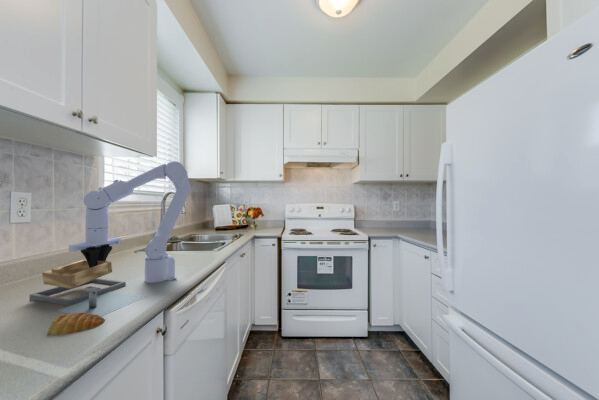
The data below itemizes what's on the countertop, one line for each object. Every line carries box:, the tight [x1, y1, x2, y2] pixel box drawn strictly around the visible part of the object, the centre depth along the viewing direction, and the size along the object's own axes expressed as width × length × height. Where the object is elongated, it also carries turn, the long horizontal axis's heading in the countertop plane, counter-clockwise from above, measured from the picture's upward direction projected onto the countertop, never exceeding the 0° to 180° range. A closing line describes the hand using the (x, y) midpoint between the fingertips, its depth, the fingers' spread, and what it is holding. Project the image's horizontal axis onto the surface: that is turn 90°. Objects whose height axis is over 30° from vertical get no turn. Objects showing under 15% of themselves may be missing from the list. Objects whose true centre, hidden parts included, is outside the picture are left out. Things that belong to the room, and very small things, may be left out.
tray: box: [28, 277, 127, 307], centre depth 75 cm, size 16×16×2 cm
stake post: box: [84, 286, 102, 309], centre depth 64 cm, size 2×4×5 cm, turn 74°
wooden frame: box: [41, 258, 113, 289], centre depth 74 cm, size 11×11×5 cm
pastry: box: [46, 312, 106, 336], centre depth 55 cm, size 9×7×4 cm
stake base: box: [56, 290, 147, 317], centre depth 67 cm, size 14×14×1 cm
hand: (96, 269), depth 79 cm, fingers closed on wooden frame
